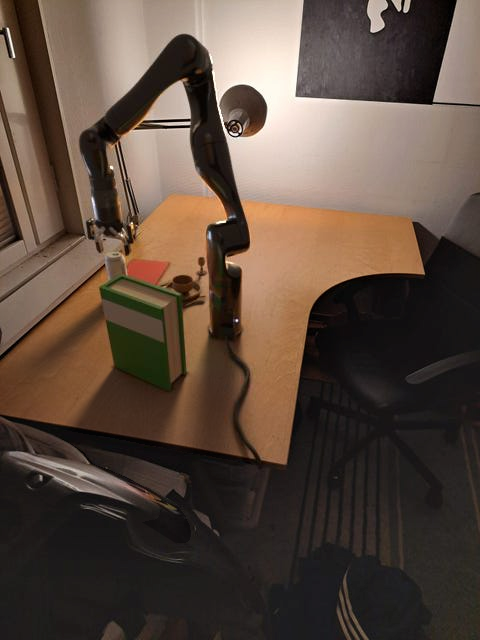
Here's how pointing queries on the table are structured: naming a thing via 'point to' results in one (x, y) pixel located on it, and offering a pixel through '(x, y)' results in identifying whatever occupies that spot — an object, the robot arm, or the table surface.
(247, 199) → the table surface
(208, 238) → the robot arm
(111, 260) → the energy drink can
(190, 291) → the place setting
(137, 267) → the cloth
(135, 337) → the hardback book
